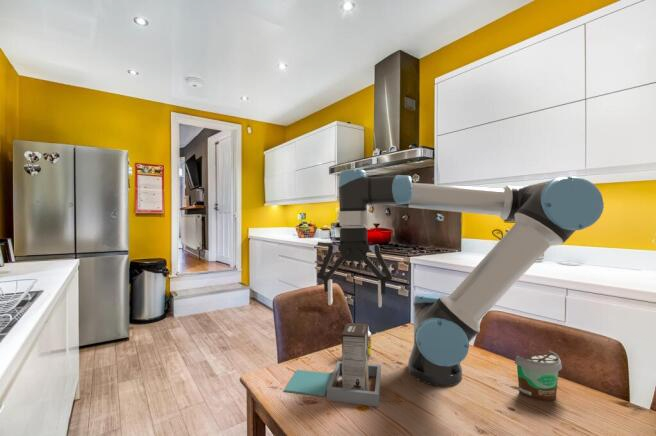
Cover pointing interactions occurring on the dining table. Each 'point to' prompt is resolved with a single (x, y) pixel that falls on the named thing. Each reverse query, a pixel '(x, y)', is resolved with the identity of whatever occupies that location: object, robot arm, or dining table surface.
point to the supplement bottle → (369, 343)
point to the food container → (538, 376)
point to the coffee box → (355, 356)
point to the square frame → (352, 394)
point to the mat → (309, 382)
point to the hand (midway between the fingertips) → (354, 304)
